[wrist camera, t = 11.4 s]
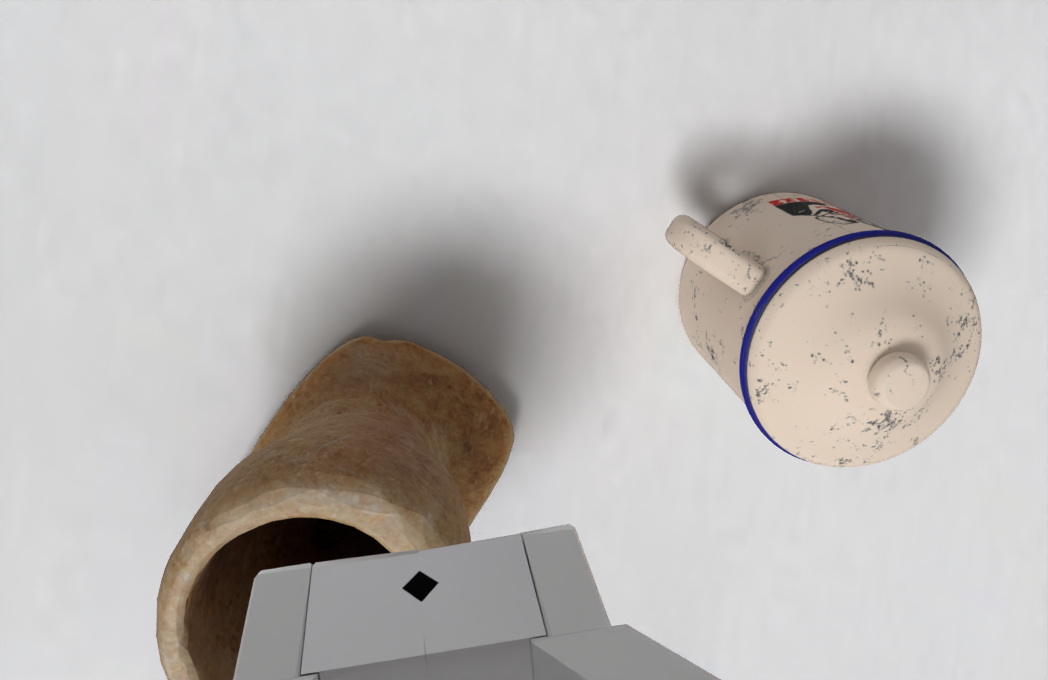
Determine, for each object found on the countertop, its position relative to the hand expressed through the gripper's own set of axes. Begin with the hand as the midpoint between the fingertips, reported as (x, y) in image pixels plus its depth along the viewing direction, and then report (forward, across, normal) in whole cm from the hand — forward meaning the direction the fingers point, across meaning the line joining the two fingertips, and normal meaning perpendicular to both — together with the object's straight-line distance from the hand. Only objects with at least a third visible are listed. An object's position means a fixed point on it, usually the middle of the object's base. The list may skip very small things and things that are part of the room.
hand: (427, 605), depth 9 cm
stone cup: (+30, +4, +15) cm, 34 cm away
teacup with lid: (+30, -15, +8) cm, 35 cm away
